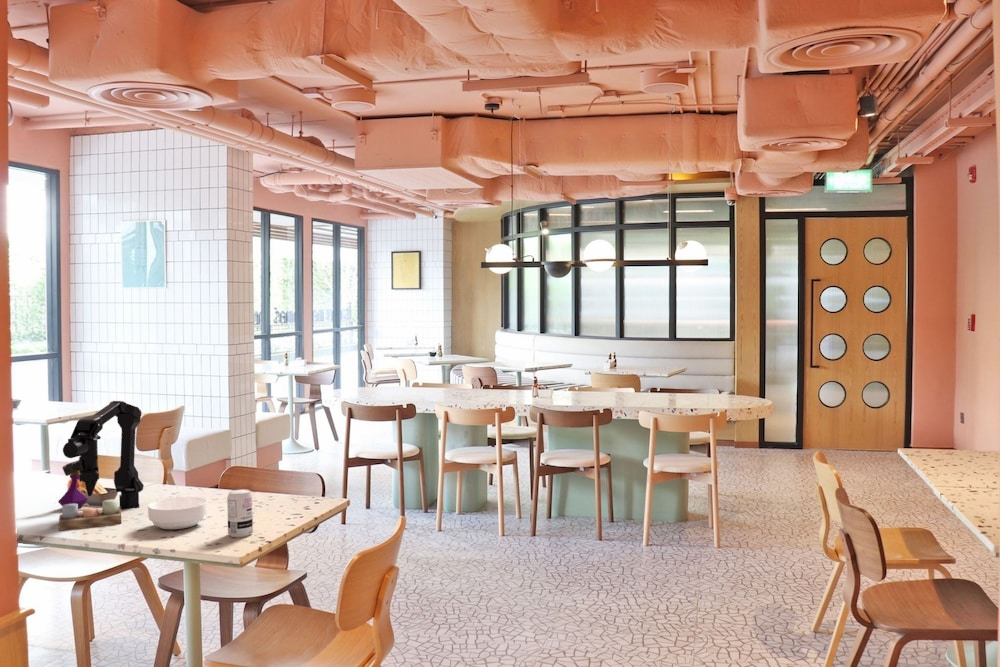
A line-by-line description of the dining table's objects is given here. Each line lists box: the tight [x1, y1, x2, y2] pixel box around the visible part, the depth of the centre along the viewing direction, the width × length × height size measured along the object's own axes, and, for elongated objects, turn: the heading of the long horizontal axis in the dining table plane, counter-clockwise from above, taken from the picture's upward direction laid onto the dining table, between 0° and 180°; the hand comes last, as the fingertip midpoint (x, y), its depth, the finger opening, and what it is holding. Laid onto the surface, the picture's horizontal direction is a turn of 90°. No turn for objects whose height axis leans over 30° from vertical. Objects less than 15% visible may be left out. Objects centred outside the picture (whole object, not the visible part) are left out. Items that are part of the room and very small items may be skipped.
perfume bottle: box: [58, 462, 89, 509], centre depth 316 cm, size 8×8×18 cm
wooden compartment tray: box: [58, 507, 122, 531], centre depth 294 cm, size 20×12×3 cm, turn 117°
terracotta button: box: [82, 507, 99, 517], centre depth 294 cm, size 5×5×5 cm
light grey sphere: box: [61, 503, 79, 520], centre depth 291 cm, size 5×5×5 cm
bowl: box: [147, 496, 208, 530], centre depth 289 cm, size 20×20×8 cm
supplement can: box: [226, 488, 254, 538], centre depth 278 cm, size 8×8×15 cm
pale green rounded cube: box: [101, 498, 119, 515], centre depth 297 cm, size 5×5×5 cm
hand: (89, 495), depth 294 cm, fingers closed
